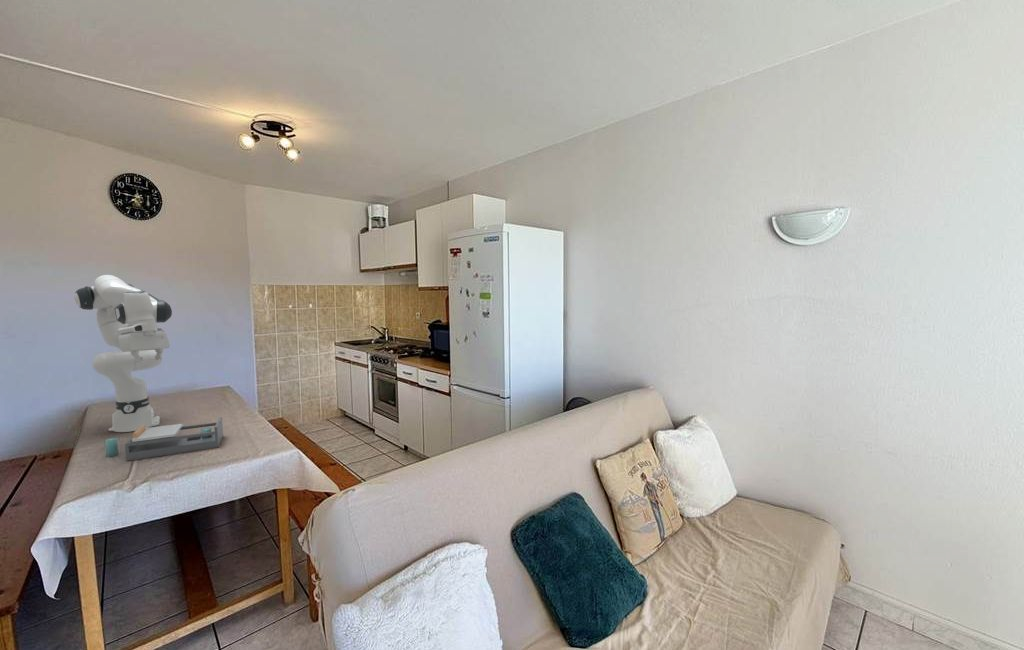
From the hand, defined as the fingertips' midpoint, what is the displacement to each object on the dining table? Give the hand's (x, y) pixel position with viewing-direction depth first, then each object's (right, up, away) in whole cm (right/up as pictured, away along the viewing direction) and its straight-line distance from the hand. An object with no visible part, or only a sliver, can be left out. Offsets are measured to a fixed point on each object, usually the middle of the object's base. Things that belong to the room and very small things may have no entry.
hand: (149, 360), depth 173 cm
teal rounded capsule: (-11, -38, -4) cm, 40 cm away
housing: (+9, -38, +4) cm, 39 cm away
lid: (+4, -31, 0) cm, 31 cm away
